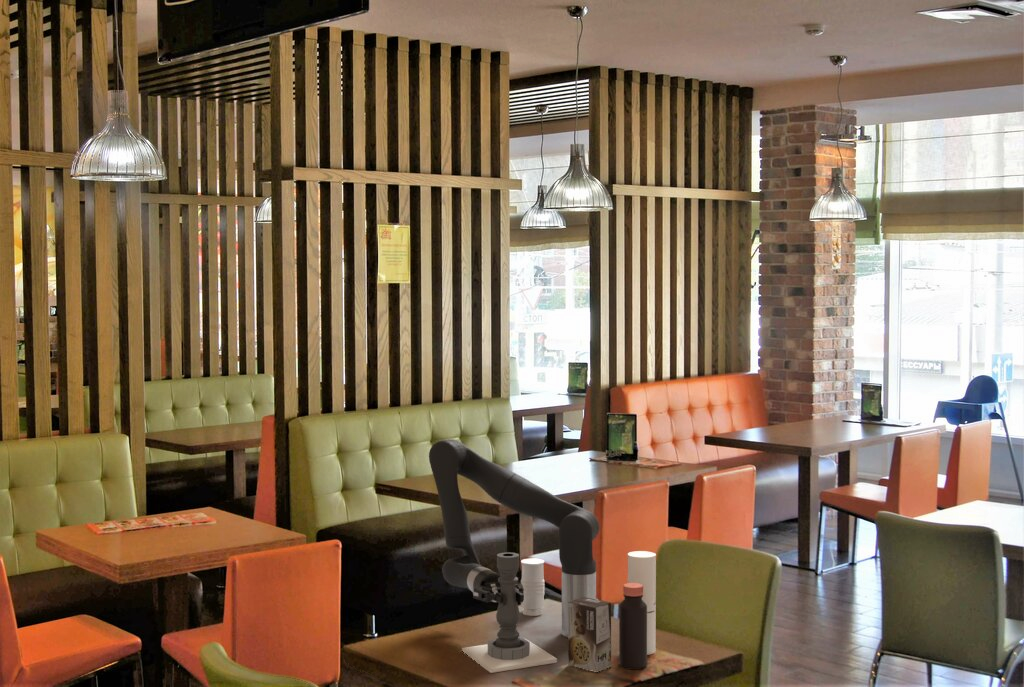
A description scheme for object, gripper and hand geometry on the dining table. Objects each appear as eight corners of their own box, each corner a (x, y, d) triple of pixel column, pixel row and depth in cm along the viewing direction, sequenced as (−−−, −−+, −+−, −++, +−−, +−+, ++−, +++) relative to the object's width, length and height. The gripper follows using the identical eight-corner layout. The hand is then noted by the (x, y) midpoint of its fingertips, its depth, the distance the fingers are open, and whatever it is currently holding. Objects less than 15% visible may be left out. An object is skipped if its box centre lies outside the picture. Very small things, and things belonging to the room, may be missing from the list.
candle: (549, 612, 326) (549, 561, 325) (533, 617, 321) (533, 565, 320) (532, 608, 331) (532, 557, 330) (515, 613, 326) (515, 561, 325)
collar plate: (525, 642, 298) (525, 629, 298) (556, 662, 282) (556, 648, 282) (462, 651, 290) (462, 638, 290) (490, 672, 274) (490, 658, 274)
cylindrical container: (659, 648, 293) (659, 552, 292) (650, 656, 286) (650, 558, 285) (632, 644, 296) (633, 550, 295) (623, 652, 289) (623, 555, 288)
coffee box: (612, 667, 278) (612, 602, 278) (596, 673, 273) (596, 607, 273) (583, 659, 284) (583, 595, 284) (567, 665, 280) (567, 601, 279)
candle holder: (517, 657, 283) (517, 558, 282) (493, 656, 284) (493, 557, 283) (522, 649, 289) (522, 552, 288) (498, 648, 290) (498, 551, 289)
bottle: (629, 671, 275) (629, 590, 274) (613, 663, 281) (614, 583, 280) (652, 667, 278) (652, 586, 277) (636, 659, 284) (637, 580, 283)
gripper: (460, 572, 295) (487, 588, 280) (510, 566, 301) (538, 581, 286) (460, 600, 296) (487, 618, 280) (510, 594, 302) (538, 611, 286)
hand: (513, 599), depth 283 cm, fingers open, 4 cm apart
